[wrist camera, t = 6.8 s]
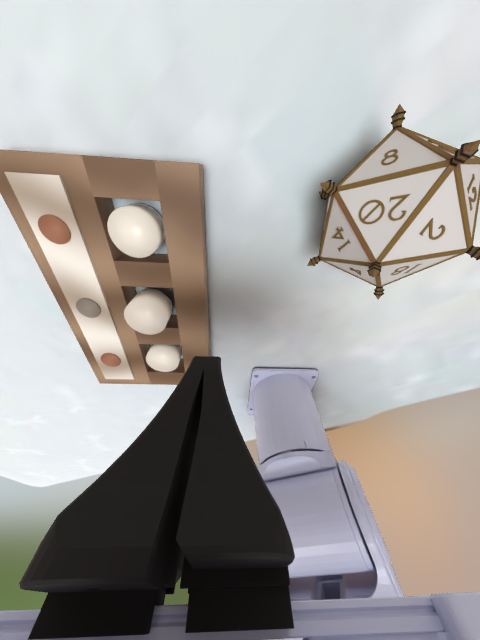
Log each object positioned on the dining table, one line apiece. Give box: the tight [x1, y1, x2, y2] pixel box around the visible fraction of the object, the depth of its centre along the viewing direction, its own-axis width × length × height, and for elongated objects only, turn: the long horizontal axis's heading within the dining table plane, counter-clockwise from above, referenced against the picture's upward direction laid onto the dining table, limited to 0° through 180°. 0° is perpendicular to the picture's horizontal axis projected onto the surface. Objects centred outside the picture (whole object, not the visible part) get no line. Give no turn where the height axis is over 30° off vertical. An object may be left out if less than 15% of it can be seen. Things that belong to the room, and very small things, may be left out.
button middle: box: [124, 289, 173, 335], centre depth 17 cm, size 3×3×2 cm
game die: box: [307, 104, 480, 299], centre depth 12 cm, size 9×8×10 cm
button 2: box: [146, 344, 182, 372], centre depth 21 cm, size 3×3×2 cm
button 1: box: [107, 203, 165, 258], centre depth 14 cm, size 3×3×2 cm
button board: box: [0, 150, 210, 385], centre depth 18 cm, size 20×12×2 cm, turn 177°
